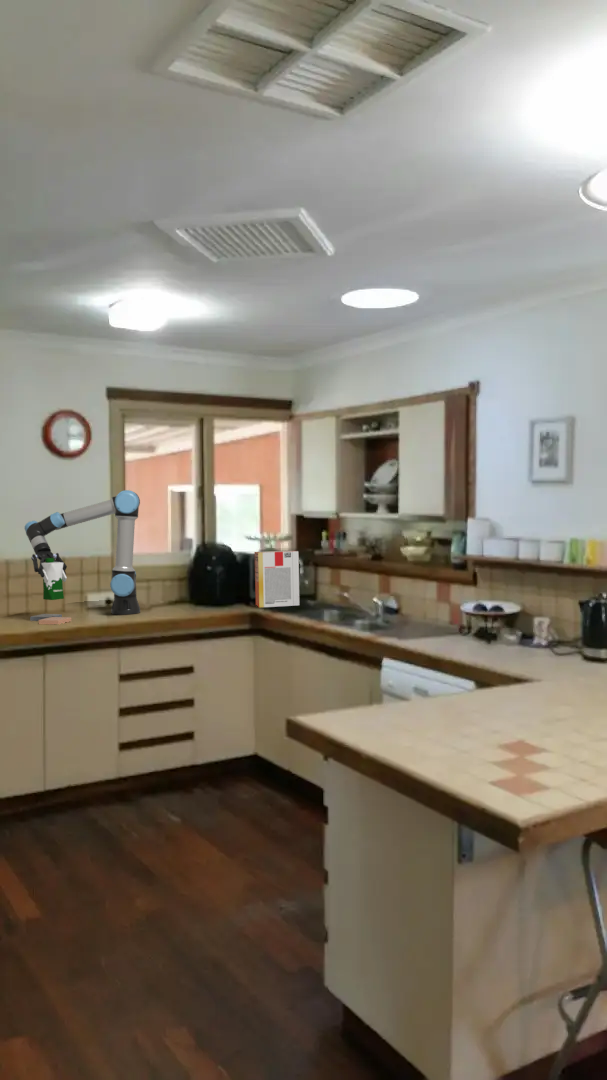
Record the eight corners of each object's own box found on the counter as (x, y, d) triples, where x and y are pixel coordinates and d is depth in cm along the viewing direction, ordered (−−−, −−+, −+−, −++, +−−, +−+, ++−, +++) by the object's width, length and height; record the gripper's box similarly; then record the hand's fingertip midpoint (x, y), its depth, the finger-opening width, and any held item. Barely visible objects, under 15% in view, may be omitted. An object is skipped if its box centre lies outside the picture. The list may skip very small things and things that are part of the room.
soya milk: (55, 597, 424) (54, 557, 423) (66, 598, 419) (65, 558, 418) (40, 599, 417) (39, 558, 416) (51, 600, 412) (50, 559, 411)
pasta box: (295, 603, 479) (294, 550, 478) (299, 605, 472) (298, 551, 470) (255, 605, 473) (254, 551, 471) (259, 607, 465) (258, 552, 464)
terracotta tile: (71, 621, 422) (71, 617, 422) (58, 624, 411) (58, 620, 411) (52, 620, 425) (52, 616, 425) (38, 624, 415) (38, 619, 415)
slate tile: (61, 618, 434) (61, 614, 434) (48, 621, 424) (48, 617, 424) (43, 617, 438) (43, 613, 438) (30, 620, 428) (30, 616, 428)
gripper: (58, 551, 435) (74, 584, 424) (18, 553, 421) (33, 587, 410) (63, 541, 431) (79, 574, 420) (22, 542, 417) (37, 577, 406)
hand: (56, 580), depth 415 cm, fingers closed on soya milk, 9 cm apart
